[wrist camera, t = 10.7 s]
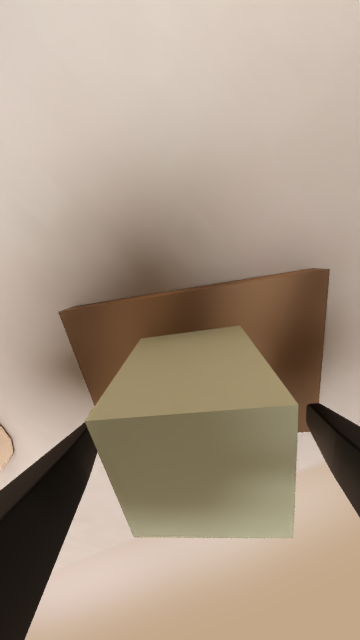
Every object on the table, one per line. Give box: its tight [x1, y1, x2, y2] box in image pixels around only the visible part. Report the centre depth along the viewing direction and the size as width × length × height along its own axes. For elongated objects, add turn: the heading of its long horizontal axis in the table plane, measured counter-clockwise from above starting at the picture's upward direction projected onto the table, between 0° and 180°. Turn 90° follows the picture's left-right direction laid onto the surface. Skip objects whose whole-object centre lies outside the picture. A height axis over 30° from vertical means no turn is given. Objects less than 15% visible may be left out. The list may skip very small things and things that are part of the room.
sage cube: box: [85, 326, 298, 538], centre depth 8 cm, size 6×6×6 cm
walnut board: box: [59, 268, 330, 432], centre depth 11 cm, size 14×10×1 cm
